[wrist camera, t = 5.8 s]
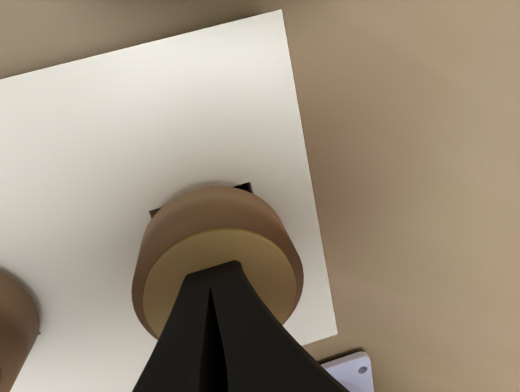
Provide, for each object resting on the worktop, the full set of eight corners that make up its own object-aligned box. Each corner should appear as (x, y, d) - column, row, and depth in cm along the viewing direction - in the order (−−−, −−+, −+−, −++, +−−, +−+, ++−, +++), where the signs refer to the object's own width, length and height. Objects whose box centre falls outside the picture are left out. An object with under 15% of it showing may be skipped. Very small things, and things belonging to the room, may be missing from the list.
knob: (279, 246, 14) (318, 333, 10) (172, 279, 14) (166, 383, 9) (255, 143, 12) (290, 198, 8) (129, 179, 12) (97, 255, 8)
